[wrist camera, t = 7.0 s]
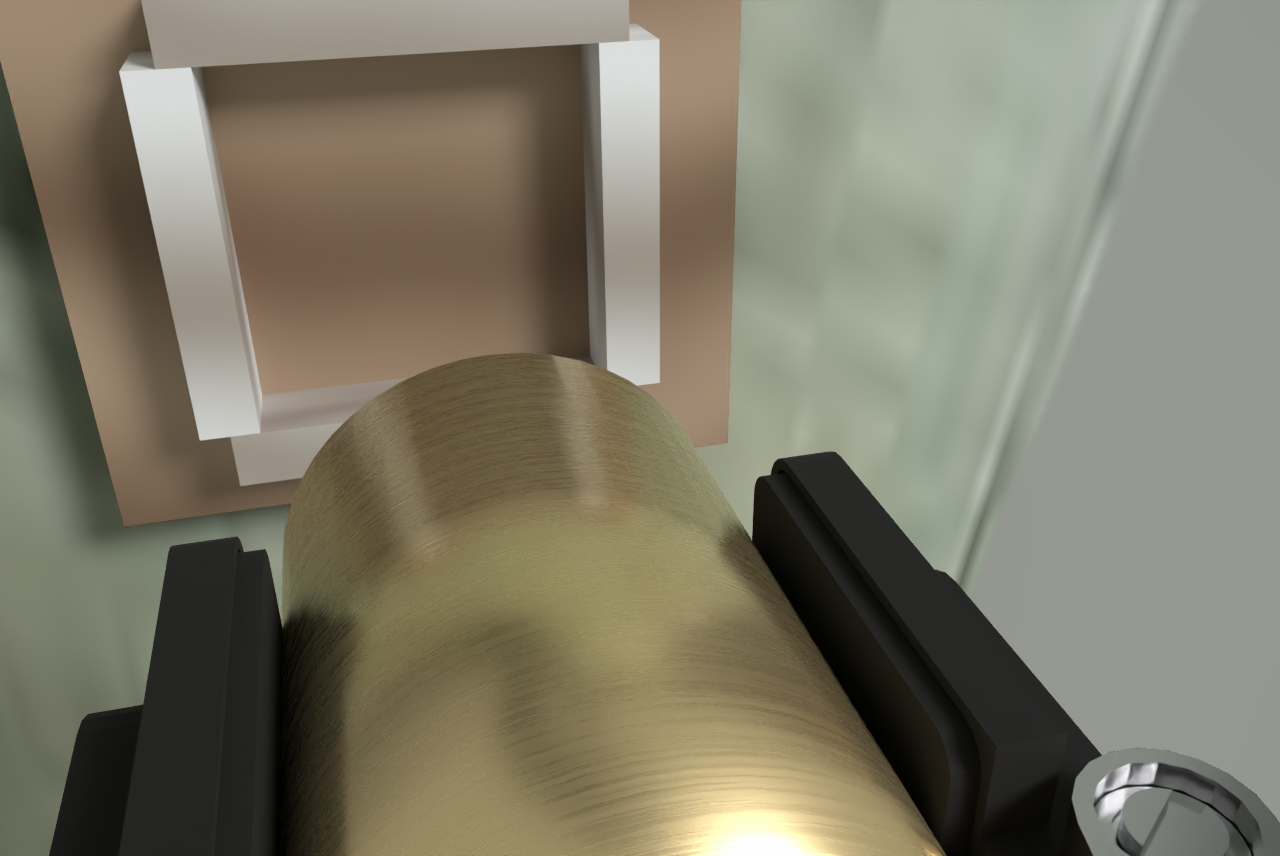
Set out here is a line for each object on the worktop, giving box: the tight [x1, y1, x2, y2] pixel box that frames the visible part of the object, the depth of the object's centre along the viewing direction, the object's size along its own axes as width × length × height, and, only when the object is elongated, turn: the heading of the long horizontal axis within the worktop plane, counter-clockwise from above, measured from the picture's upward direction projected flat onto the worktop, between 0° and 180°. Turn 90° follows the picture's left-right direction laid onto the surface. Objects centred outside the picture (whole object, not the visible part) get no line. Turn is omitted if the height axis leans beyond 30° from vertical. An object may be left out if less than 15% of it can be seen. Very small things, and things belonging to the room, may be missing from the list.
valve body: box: [280, 353, 946, 856], centre depth 9 cm, size 4×4×7 cm
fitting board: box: [0, 0, 741, 527], centre depth 21 cm, size 11×12×3 cm
